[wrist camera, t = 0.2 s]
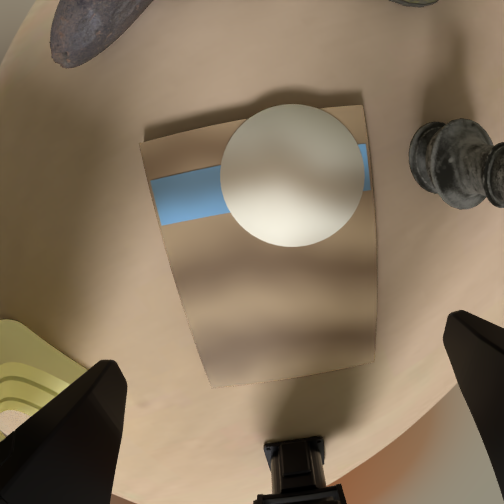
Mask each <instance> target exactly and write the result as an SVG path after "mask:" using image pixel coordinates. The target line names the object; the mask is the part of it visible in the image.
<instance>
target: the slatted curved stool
mask: <svg viewBox="0 0 504 504" xmlns="http://www.w3.org/2000/svg"><path fill="white" fill-rule="evenodd" d="M86 371H88V370H87V369H86V368H84V367H82V366H81V365H79V364H78V363H76V362H75V361H73V360H72V359H70V358H69V357H67V356H66V355H64V354H63V353H61V352H60V351H58V350H57V349H56V348H54V347H53V346H51V345H50V344H48V343H47V342H46V341H44V340H43V339H42V338H40V337H39V336H38V335H36V334H35V333H34V332H32V331H31V330H30V329H28V328H27V327H26V326H24V325H23V324H22V323H20V322H18V321H14V320H8V319H4V320H0V413H1V412H3V411H5V410H16V411H20V412H23V413H25V414H28V415H30V416H32V415H34V414H35V413H36V412H37V411H39V410H40V409H41V408H42V407H43V406H45V405H46V404H47V403H48V402H50V401H51V400H52V399H53V398H54V397H56V396H57V395H58V394H59V393H61V392H62V391H63V390H64V389H65V388H67V387H68V386H69V385H70V384H72V383H73V382H74V381H75V380H76V379H78V378H79V377H80V376H81V375H83V374H84V373H85V372H86ZM5 438H6V437H5V436H4V435H3V434H2V433H1V431H0V442H1V441H2V440H3V439H5Z"/></svg>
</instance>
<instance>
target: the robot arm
mask: <svg viewBox="0 0 504 504" xmlns="http://www.w3.org/2000/svg"><path fill="white" fill-rule="evenodd" d="M443 343H444V346H445V349H446V352H447V354H448V357H449V359H450V362H451V365H452V367H453V370H454V373H455V376H456V379H457V382H458V384H459V387H460V389H461V392H462V394H463V396H464V398H465V400H466V403H467V405H468V407H469V409H470V412H471V414H472V416H473V418H474V421H475V423H476V425H477V428H478V430H479V433H480V435H481V438H482V440H483V443H484V445H485V448H486V450H487V453H488V455H489V458H490V461H491V464H492V466H493V469H494V472H495V475H496V478H497V481H498V484H499V487H500V490H501V493H502V497H503V500H504V328H502V327H499V326H497V325H495V324H493V323H491V322H488V321H486V320H484V319H482V318H480V317H477V316H475V315H473V314H471V313H468V312H466V311H464V310H459V311H455V312H452V313H450V314H449V315H448V318H447V322H446V327H445V331H444V335H443ZM126 396H127V382H126V379H125V377H124V376H123V374H122V372H121V370H120V368H119V366H118V364H117V363H116V362H115V361H114V360H100V361H99V362H97V363H96V364H95V365H94V366H93V367H91V368H90V369H89V370H88V371H86V372H85V373H84V374H83V375H81V376H80V377H79V378H78V379H76V380H75V381H74V382H73V383H72V384H70V385H69V386H68V387H67V388H65V389H64V390H63V391H62V392H61V393H59V394H58V395H57V396H56V397H54V398H53V399H52V400H51V401H50V402H48V403H47V404H46V405H45V406H43V407H42V408H41V409H40V410H39V411H37V412H36V413H35V414H34V415H32V416H31V417H30V418H29V419H28V420H26V421H25V422H24V423H23V424H22V425H20V426H19V427H18V428H17V429H16V430H15V431H13V432H12V433H11V434H9V435H8V436H7V437H6V438H5V439H3V440H2V441H1V442H0V504H110V498H111V493H112V487H113V481H114V475H115V470H116V464H117V459H118V454H119V449H120V444H121V438H122V432H123V424H124V414H125V405H126ZM264 452H265V455H266V458H267V462H268V465H269V468H270V471H271V476H272V494H269V495H263V494H258V495H257V500H255V501H253V504H347V503H346V500H345V496H344V493H343V489H342V486H341V484H337V485H335V486H330V487H326V482H325V476H324V471H323V464H324V441H323V437H321V436H318V437H313V438H307V439H301V440H294V441H287V442H280V443H272V444H265V445H264Z"/></svg>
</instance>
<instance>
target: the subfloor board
mask: <svg viewBox="0 0 504 504" xmlns="http://www.w3.org/2000/svg"><path fill="white" fill-rule="evenodd" d="M139 145H140V150H141V154H142V159H143V163H144V168H145V172H146V176H147V181H148V185H149V189H150V193H151V197H152V201H153V205H154V209H155V213H156V217H157V220H158V224H159V228H160V232H161V235H162V239H163V242H164V246H165V250H166V253H167V257H168V260H169V263H170V267H171V270H172V274H173V277H174V280H175V283H176V287H177V290H178V293H179V296H180V299H181V303H182V306H183V309H184V312H185V315H186V318H187V321H188V324H189V327H190V330H191V333H192V336H193V339H194V342H195V344H196V347H197V350H198V353H199V356H200V359H201V361H202V364H203V367H204V370H205V372H206V375H207V378H208V380H209V383H210V386H211V388H221V387H231V386H241V385H249V384H257V383H265V382H272V381H279V380H285V379H292V378H298V377H304V376H309V375H315V374H320V373H325V372H330V371H335V370H340V369H345V368H350V367H354V366H359V365H363V364H367V363H371V362H374V360H375V344H376V321H377V248H376V225H375V208H374V194H373V183H372V172H371V162H370V154H369V145H368V137H367V130H366V123H365V116H364V110H363V105H351V106H339V107H328V108H318V109H317V108H314V107H311V106H306V105H300V104H285V105H279V106H274V107H271V108H268V109H265V110H263V111H261V112H259V113H257V114H255V115H253V116H252V117H250V118H248V119H242V120H237V121H232V122H226V123H221V124H216V125H212V126H207V127H202V128H198V129H194V130H189V131H185V132H181V133H177V134H173V135H169V136H165V137H161V138H157V139H154V140H150V141H146V142H143V143H139Z"/></svg>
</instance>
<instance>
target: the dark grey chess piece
mask: <svg viewBox="0 0 504 504" xmlns="http://www.w3.org/2000/svg"><path fill="white" fill-rule="evenodd" d="M409 164H410V169H411V172H412V174H413V176H414V178H415V180H416V181H417V183H418V184H419V185H420V186H421V187H422V188H424V189H425V190H427V191H429V192H432V193H438V194H439V196H440V197H441V198H442V200H443V201H444V202H446V203H447V204H448V205H450V206H451V207H454V208H457V209H470V208H473V207H475V206H477V205H478V204H480V203H481V202H482V201H483V200H484V199H485V198H486V197H487V198H488V200H489V201H490V202H491V203H492V204H493V205H494V206H496V207H499V208H504V142H502V143H498V144H496V145H495V146H493V143H492V141H491V139H490V137H489V135H488V134H487V132H486V131H485V130H484V129H483V128H482V127H481V126H480V125H479V124H478V123H476V122H474V121H472V120H468V119H457V120H452V121H451V122H449V123H448V124H444V123H441V122H432V123H428V124H426V125H424V126H423V127H421V128H420V129H419V130H418V131H417V132H416V134H415V135H414V137H413V139H412V141H411V144H410V149H409Z"/></svg>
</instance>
